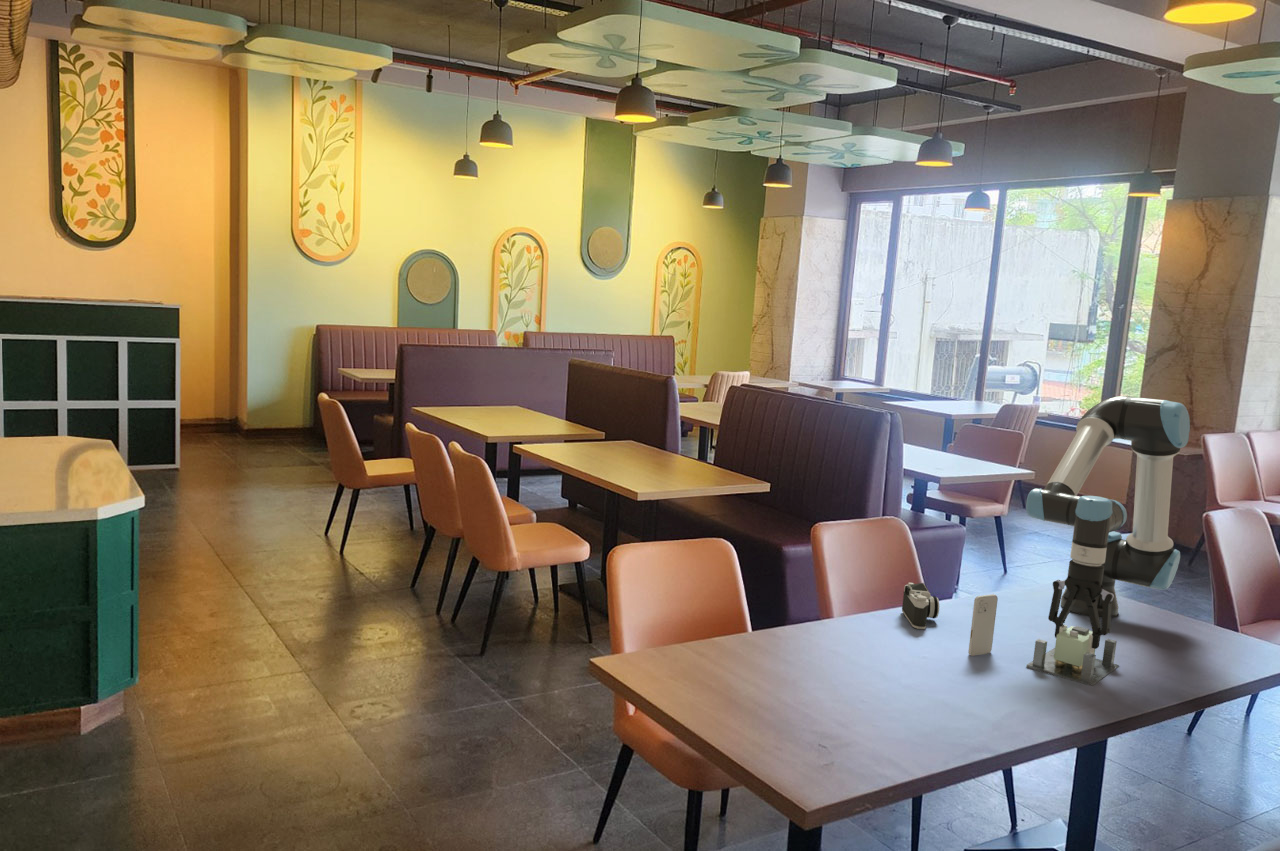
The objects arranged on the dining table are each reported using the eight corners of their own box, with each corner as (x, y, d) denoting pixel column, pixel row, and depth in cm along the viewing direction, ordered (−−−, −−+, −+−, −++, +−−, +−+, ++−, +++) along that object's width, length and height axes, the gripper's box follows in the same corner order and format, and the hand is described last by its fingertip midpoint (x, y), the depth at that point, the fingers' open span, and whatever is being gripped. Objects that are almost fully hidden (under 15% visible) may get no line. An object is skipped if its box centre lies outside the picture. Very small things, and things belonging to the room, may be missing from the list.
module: (1068, 649, 239) (1072, 622, 238) (1094, 656, 235) (1098, 628, 234) (1053, 659, 232) (1057, 630, 231) (1079, 666, 228) (1083, 637, 227)
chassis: (1055, 651, 246) (1058, 624, 245) (1118, 669, 236) (1122, 641, 235) (1026, 669, 232) (1029, 640, 231) (1091, 689, 222) (1096, 659, 221)
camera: (944, 631, 257) (948, 594, 255) (911, 628, 257) (915, 591, 256) (929, 611, 272) (933, 577, 271) (898, 609, 273) (901, 574, 271)
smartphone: (989, 652, 243) (995, 593, 241) (992, 653, 242) (999, 595, 240) (967, 655, 239) (974, 596, 237) (971, 657, 238) (978, 597, 236)
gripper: (1040, 555, 234) (1028, 648, 237) (1125, 574, 222) (1111, 672, 225) (1051, 550, 240) (1040, 641, 243) (1135, 569, 227) (1121, 664, 230)
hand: (1074, 656), depth 234 cm, fingers closed on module, 6 cm apart
